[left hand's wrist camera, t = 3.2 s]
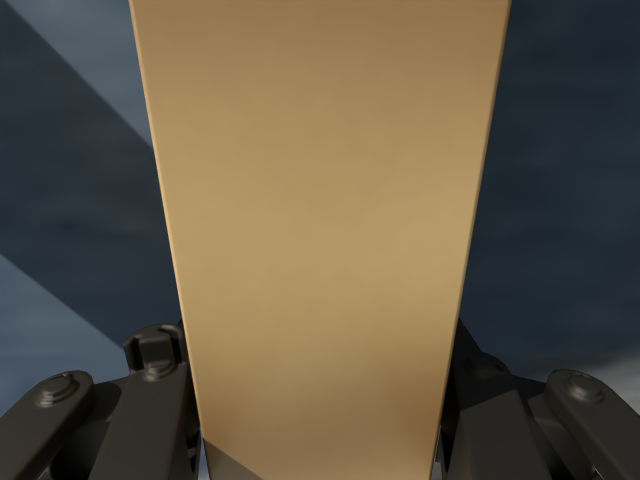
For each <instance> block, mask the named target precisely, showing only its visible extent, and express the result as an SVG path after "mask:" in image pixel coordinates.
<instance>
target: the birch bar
mask: <svg viewBox="0 0 640 480" xmlns="http://www.w3.org/2000/svg"><path fill="white" fill-rule="evenodd" d="M511 3H512V0H129V5H130V11H131V17H132V23H133V28H134V34H135V40H136V46H137V52H138V58H139V64H140V70H141V76H142V82H143V88H144V94H145V99H146V105H147V111H148V117H149V123H150V129H151V135H152V141H153V147H154V153H155V159H156V165H157V170H158V176H159V182H160V188H161V194H162V200H163V206H164V212H165V218H166V224H167V230H168V236H169V241H170V247H171V253H172V259H173V265H174V271H175V277H176V283H177V289H178V295H179V301H180V307H181V312H182V318H183V324H184V330H185V336H186V342H187V348H188V354H189V360H190V366H191V372H192V378H193V383H194V389H195V395H196V401H197V407H198V413H199V419H200V425H201V431H202V437H203V443H204V449H205V454H206V460H207V466H208V472H209V478H210V480H431V475H432V469H433V463H434V457H435V451H436V445H437V439H438V433H439V427H440V421H441V416H442V410H443V404H444V398H445V392H446V386H447V380H448V374H449V368H450V363H451V357H452V351H453V345H454V339H455V333H456V327H457V321H458V315H459V309H460V304H461V298H462V292H463V286H464V280H465V274H466V268H467V262H468V256H469V251H470V245H471V239H472V233H473V227H474V221H475V215H476V209H477V203H478V197H479V192H480V186H481V180H482V174H483V168H484V162H485V156H486V150H487V144H488V139H489V133H490V127H491V121H492V115H493V109H494V103H495V97H496V91H497V85H498V80H499V74H500V68H501V62H502V56H503V50H504V44H505V38H506V32H507V27H508V21H509V15H510V9H511Z"/></svg>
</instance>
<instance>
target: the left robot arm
mask: <svg viewBox="0 0 640 480" xmlns="http://www.w3.org/2000/svg"><path fill="white" fill-rule="evenodd" d="M123 347H124V351H125V355H126V359H127V363H128V367H129V371H130V374H129V376H127V377H124V378H120V379H116V380H112V381H107V382H103V383H98V384H94V383H93V379H92V376H91V375H89V374H88V373H87V372H84V371H78V370H76V371H68V372H63V373H60V374H57V375H54V376H51V377H50V378H48V379H46V380H44V381H42V382H40V383H38V384H37V385H36V386H35V387H33V388H32V389H31V390H29V391H28V392H27V393H26V394H25V395H24V396H23V397H22V398H21V399H20V400H19V401H18V402H17V403H16V404H15V405H14V406H12V407H11V408H10V409H9V410H8V411H7V412H6V413H5V414H4V415H3V416H2V417H1V418H0V480H38V478H39V477H40V476H41V474H42V473H43V472H44V471H45V470H46V471H45V472H44V474H43V475H42V476H41V478H40V479H39V480H198V472H199V462H200V451H201V434H200V428H199V427H200V419H199V413H198V407H197V401H196V395H195V389H194V383H193V378H192V372H191V366H190V360H189V354H188V348H187V342H186V336H185V330H184V324H183V318H182V319H181V320H180V321H179V323H178V324H177V326H176V325H173V324H157V325H152V326H148V327H145V328H143V329H141V330H138V331H136V332H135V333H134V334H132V335H131V336H129V337H128V338H127V339H126V341H125V342H124V343H123ZM440 425H441V428H440V434H439V440H438V446H437V452H436V458H435V462H438V463H439V462H440V461H441V471H442V480H603V479H602V478H601V477H600V475H599V474H598V473H597V471H596V470H595V468H596V469H597V470H598V472H599V473H600V474H601V475H602V477H603V478H604V479H605V480H640V415H638V414H637V413H636V412H635V411H634V410H633V409H632V408H631V407H630V406H629V405H628V404H627V403H626V402H625V401H624V400H623V399H622V398H621V397H620V396H619V395H617V394H616V393H615V392H614V391H613V390H612V389H611V388H610V387H608V386H607V385H606V384H604V383H603V382H602V381H600V380H598V379H596V378H594V377H592V376H590V375H588V374H585V373H582V372H579V371H576V370H568V369H560V370H554V371H553V372H552V373H551V374H550V375H549V377H548V380H547V383H544V382H539V381H535V380H530V379H526V378H521V377H518V376H514V375H511V373H510V371H509V370H508V368H507V367H506V365H505V364H504V363H502V362H501V361H500V360H499V359H497V358H496V357H494V356H491V355H489V354H487V353H484V352H482V351H481V350H480V348H479V347H478V345H477V344H476V342H475V341H474V339H473V338H472V336H471V335H470V333H469V332H468V330H467V329H466V327H465V326H463V323H462V321H461V320H460V318H458V321H457V327H456V333H455V339H454V345H453V351H452V357H451V363H450V368H449V374H448V380H447V386H446V392H445V398H444V404H443V410H442V416H441V421H440Z"/></svg>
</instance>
